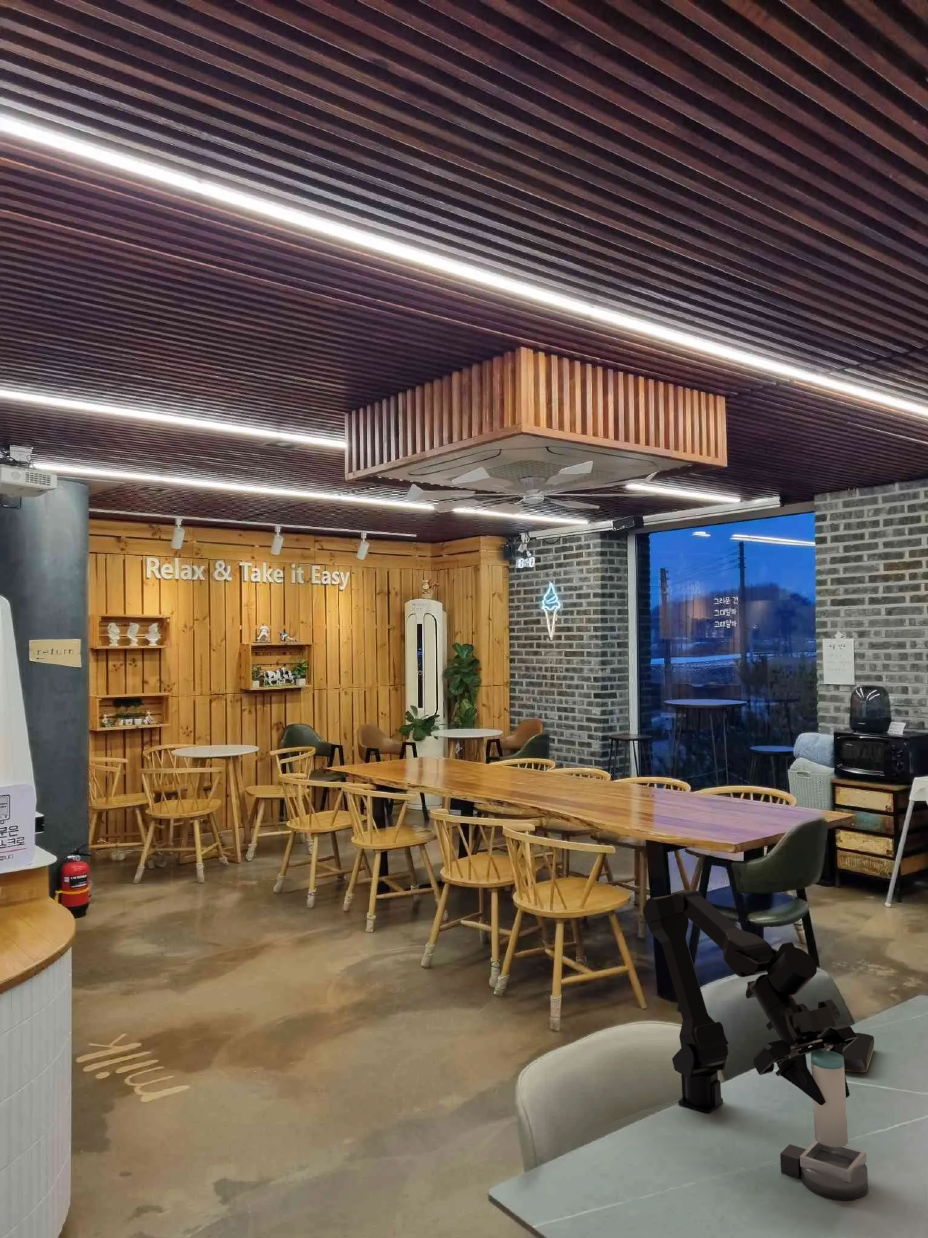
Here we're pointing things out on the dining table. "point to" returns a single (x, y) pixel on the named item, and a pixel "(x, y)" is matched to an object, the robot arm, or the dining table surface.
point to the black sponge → (859, 1053)
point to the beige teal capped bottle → (830, 1098)
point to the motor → (828, 1170)
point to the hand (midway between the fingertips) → (835, 1100)
